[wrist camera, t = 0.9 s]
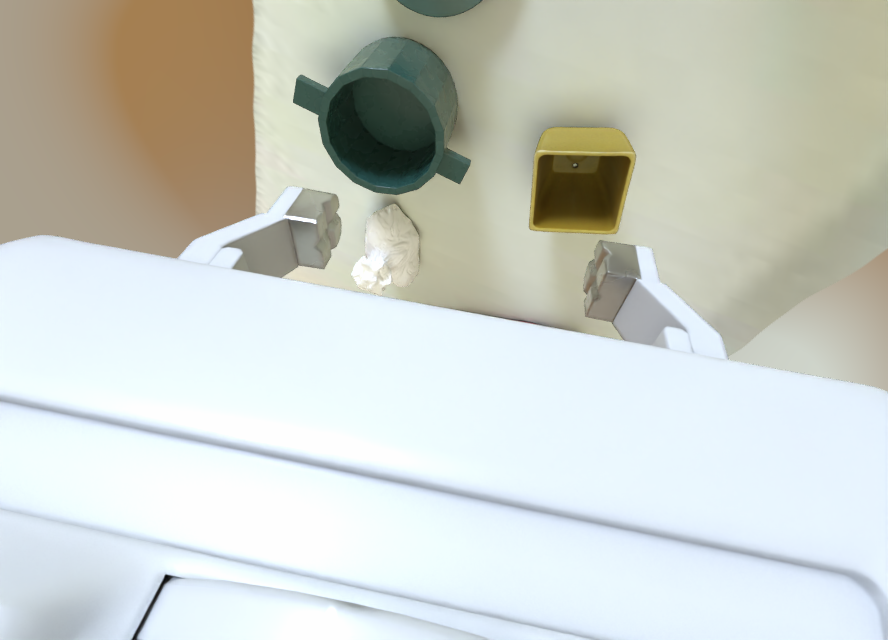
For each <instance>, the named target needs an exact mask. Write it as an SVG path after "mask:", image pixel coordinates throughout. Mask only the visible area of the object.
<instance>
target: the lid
mask: <svg viewBox="0 0 888 640" xmlns="http://www.w3.org/2000/svg"><path fill="white" fill-rule="evenodd" d="M397 1H398V2H400V3H401V4H402V5H404V6H405V7H407V8H409V9H410V10H413V11H415V12H417V13H419V14H423V15H426V16H432V17H449V16H455V15H458V14H461V13H464V12H465V11H467V10H469V9H471V8H473V7H474V6H476V5H477V4H479V3H480V2H481V1H482V0H397Z"/></svg>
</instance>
